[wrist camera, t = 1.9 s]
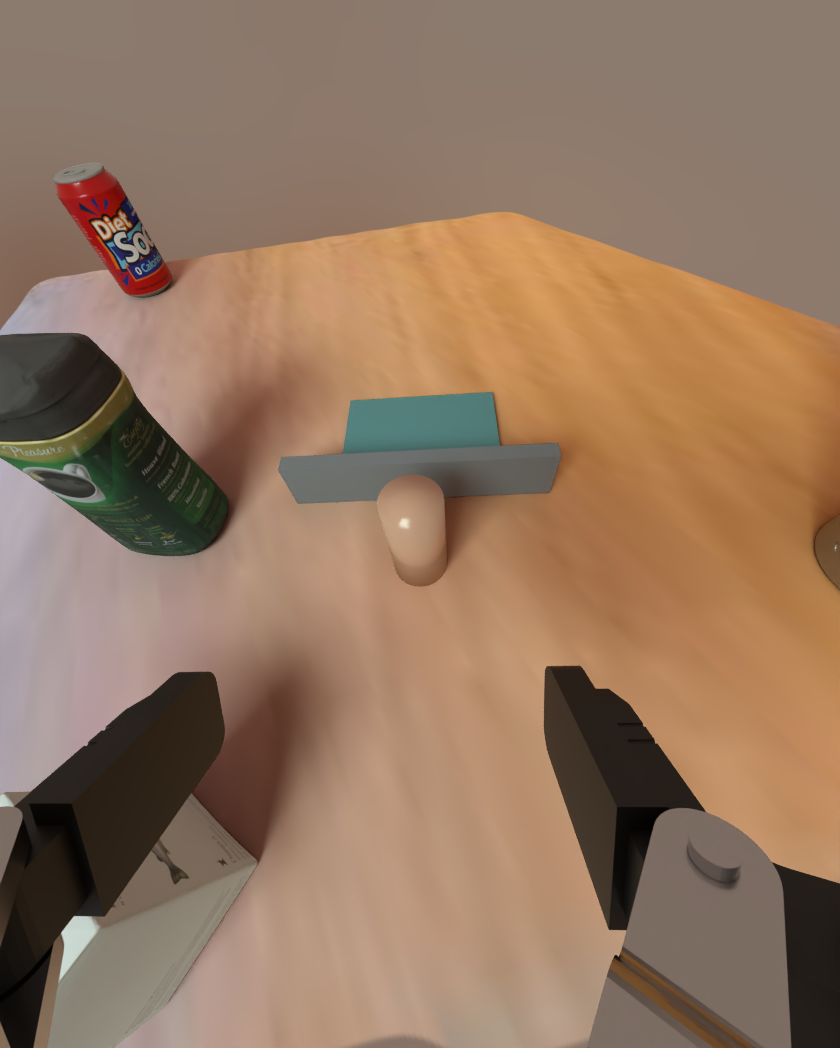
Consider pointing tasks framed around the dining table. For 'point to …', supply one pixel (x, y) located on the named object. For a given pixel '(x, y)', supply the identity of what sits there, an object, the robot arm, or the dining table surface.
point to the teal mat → (421, 423)
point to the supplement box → (146, 931)
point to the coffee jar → (101, 446)
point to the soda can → (112, 228)
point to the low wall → (423, 472)
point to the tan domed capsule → (414, 528)
